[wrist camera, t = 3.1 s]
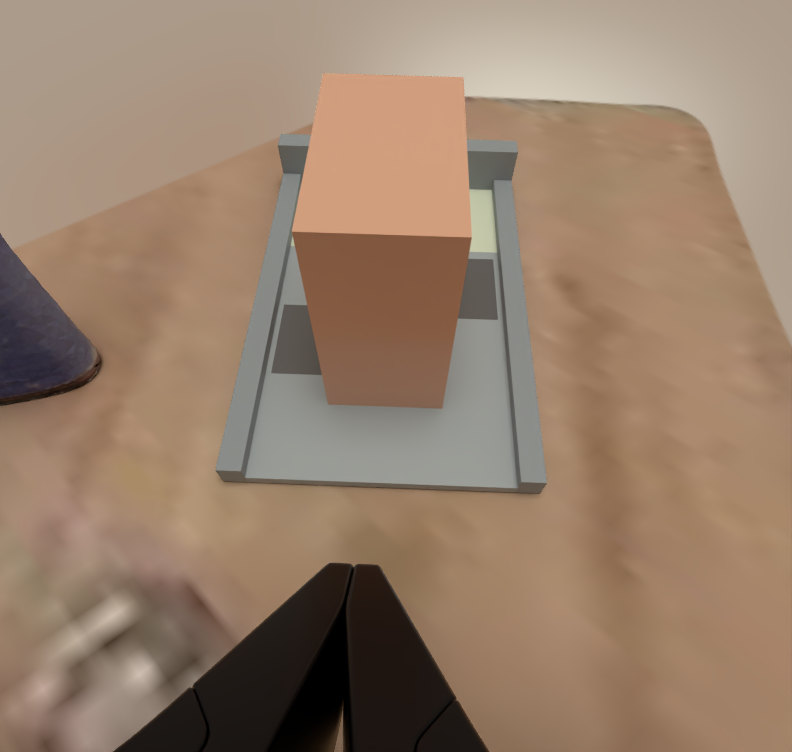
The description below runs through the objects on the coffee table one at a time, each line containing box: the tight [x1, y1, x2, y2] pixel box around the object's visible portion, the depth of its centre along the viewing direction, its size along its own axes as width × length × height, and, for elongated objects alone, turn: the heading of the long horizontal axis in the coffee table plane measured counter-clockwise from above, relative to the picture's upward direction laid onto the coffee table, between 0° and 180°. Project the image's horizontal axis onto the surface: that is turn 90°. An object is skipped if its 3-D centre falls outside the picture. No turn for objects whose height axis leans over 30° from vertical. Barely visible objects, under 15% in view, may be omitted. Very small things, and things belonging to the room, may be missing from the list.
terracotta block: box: [292, 73, 472, 409], centre depth 21 cm, size 8×5×10 cm, turn 178°
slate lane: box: [216, 134, 547, 493], centre depth 26 cm, size 19×13×3 cm
